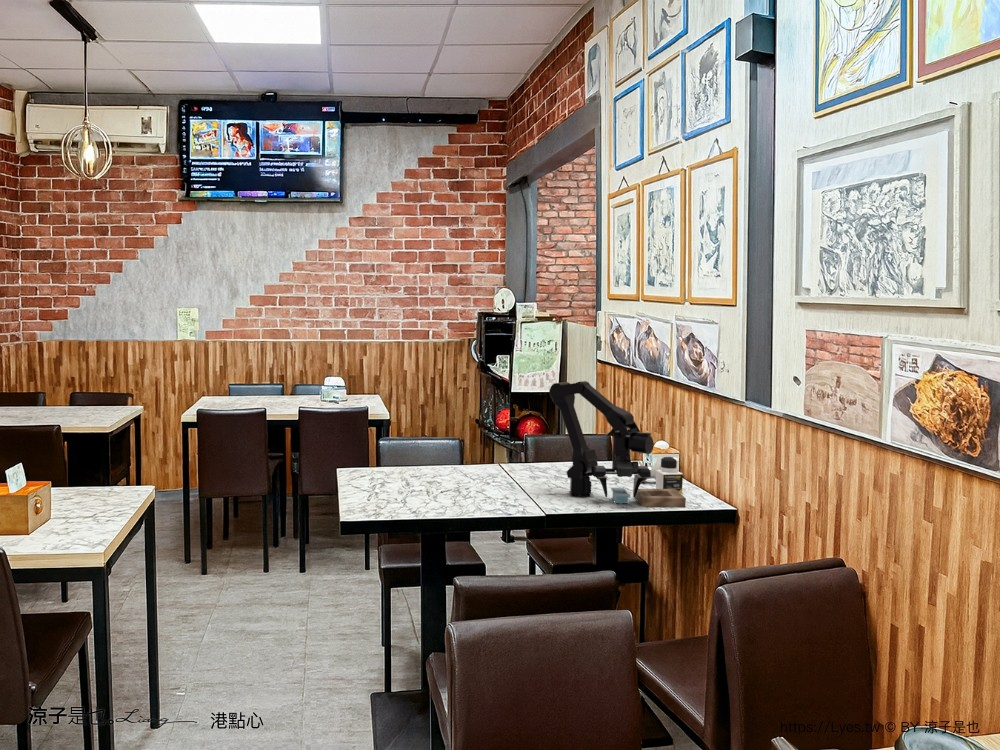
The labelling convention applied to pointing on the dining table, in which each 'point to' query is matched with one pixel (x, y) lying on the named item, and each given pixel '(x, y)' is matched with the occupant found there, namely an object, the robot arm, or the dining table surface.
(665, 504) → the brown square frame
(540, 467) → the dining table surface
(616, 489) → the block
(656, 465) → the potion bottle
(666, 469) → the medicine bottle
